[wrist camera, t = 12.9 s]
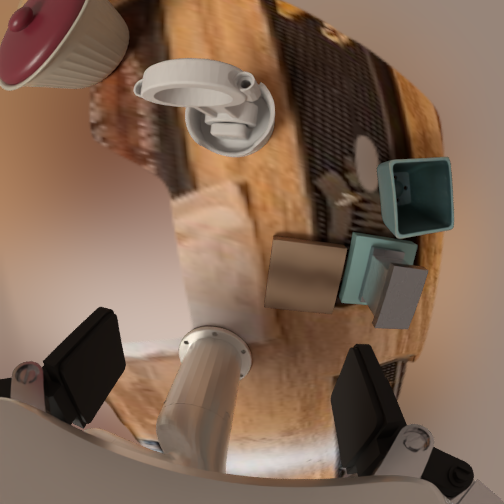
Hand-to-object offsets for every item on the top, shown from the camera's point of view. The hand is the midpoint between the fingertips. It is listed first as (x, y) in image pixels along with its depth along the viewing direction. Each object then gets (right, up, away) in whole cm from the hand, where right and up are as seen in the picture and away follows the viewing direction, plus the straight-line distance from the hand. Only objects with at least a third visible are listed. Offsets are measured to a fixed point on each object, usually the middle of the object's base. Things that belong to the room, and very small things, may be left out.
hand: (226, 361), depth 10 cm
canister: (-24, +37, +20) cm, 48 cm away
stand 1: (+8, +1, +29) cm, 30 cm away
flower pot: (+21, +13, +24) cm, 35 cm away
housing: (+19, +1, +26) cm, 32 cm away
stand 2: (+19, +2, +28) cm, 34 cm away
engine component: (-2, +21, +23) cm, 32 cm away
